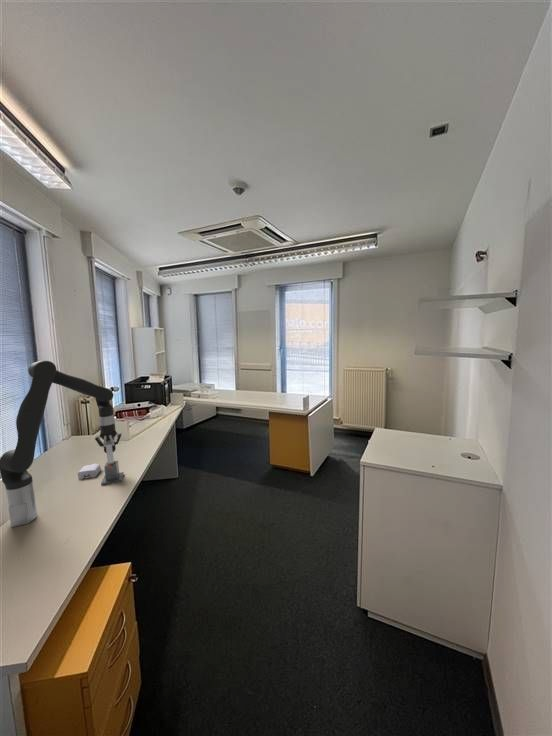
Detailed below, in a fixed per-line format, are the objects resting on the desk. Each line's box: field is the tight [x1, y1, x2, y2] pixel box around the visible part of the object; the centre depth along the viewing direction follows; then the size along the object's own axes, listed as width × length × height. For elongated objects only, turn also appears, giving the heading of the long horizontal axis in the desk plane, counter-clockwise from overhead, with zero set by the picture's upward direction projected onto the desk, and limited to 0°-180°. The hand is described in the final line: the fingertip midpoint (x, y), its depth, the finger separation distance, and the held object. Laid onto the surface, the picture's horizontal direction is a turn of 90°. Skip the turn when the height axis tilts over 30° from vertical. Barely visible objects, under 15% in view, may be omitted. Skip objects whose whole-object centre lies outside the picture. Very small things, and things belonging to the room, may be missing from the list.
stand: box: [100, 460, 125, 486], centre depth 167 cm, size 10×10×10 cm
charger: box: [77, 463, 101, 480], centre depth 178 cm, size 5×9×15 cm
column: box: [105, 440, 116, 465], centre depth 166 cm, size 3×3×17 cm
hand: (110, 451), depth 166 cm, fingers closed on column, 3 cm apart
